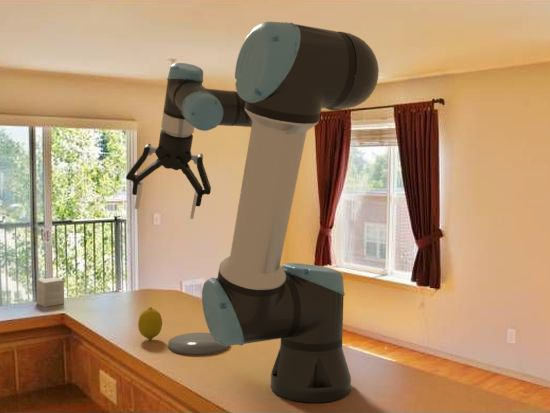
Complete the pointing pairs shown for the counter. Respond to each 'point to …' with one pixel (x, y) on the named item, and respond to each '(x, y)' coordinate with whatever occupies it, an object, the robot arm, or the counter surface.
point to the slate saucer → (195, 344)
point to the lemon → (150, 323)
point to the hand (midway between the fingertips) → (164, 211)
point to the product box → (50, 291)
